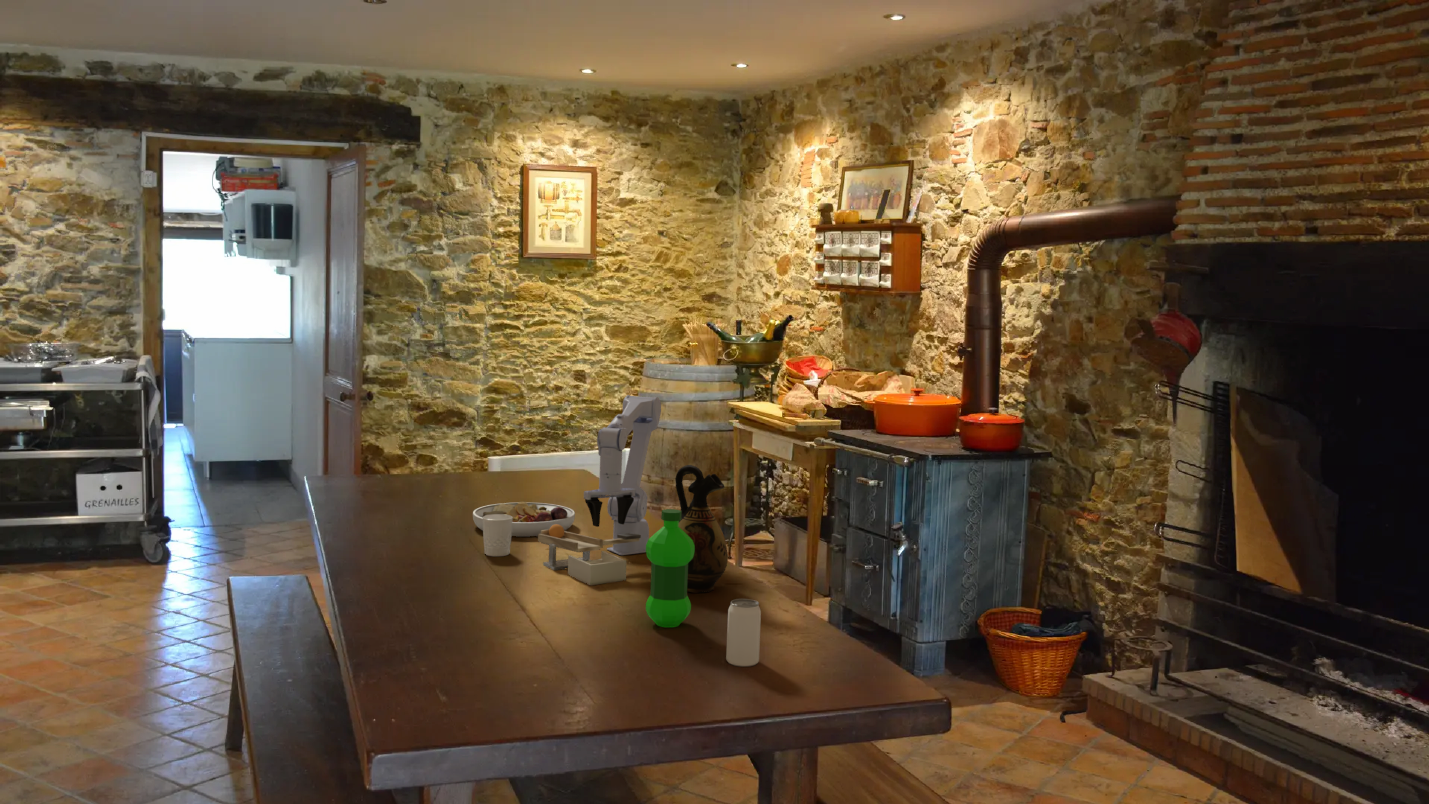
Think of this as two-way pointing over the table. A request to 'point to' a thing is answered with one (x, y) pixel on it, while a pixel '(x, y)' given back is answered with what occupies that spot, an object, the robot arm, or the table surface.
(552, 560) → the lever stand
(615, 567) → the cream open box
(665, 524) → the plastic bottle
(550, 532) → the ball
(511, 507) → the bowl
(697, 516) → the ceramic jug
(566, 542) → the lever
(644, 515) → the robot arm
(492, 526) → the white cup
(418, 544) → the table surface
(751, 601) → the can
